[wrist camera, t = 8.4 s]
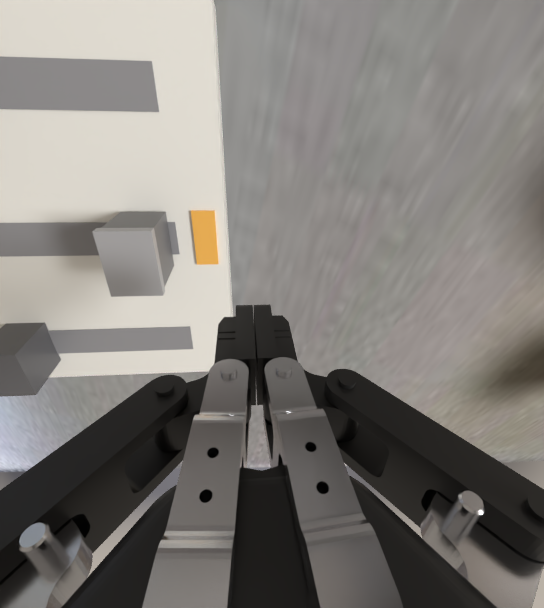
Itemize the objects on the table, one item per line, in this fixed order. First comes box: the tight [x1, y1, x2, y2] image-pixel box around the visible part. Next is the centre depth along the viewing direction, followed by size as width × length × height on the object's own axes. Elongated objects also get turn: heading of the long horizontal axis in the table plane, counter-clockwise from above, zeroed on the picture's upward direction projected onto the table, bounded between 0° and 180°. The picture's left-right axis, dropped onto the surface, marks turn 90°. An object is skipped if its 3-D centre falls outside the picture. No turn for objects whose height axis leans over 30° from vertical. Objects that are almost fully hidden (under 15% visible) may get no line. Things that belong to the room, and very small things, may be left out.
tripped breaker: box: [92, 212, 174, 297], centre depth 21 cm, size 3×4×4 cm
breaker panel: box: [0, 0, 233, 396], centre depth 22 cm, size 22×26×6 cm
